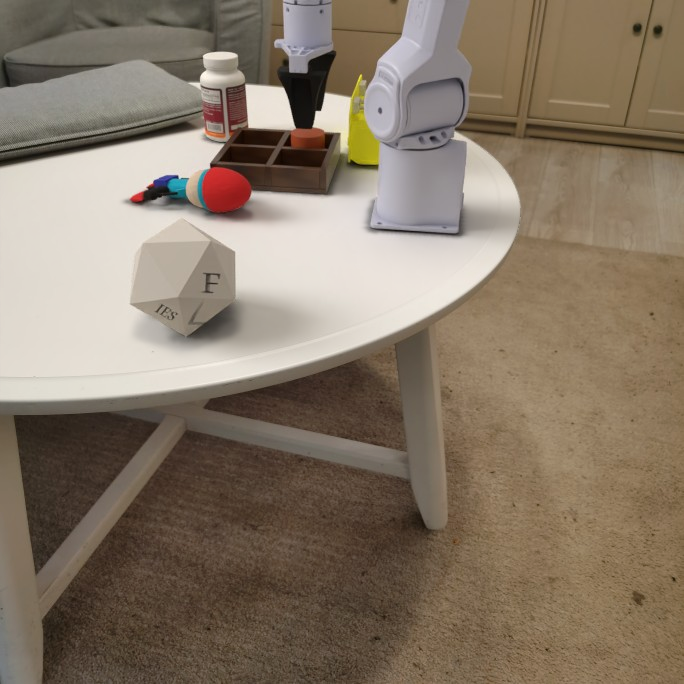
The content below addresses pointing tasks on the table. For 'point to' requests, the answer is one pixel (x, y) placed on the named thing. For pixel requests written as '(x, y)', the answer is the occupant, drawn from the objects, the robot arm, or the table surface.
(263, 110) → the table surface
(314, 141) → the orange short cylinder
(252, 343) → the table surface
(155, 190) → the toy figure
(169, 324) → the die
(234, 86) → the pill bottle
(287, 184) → the grid
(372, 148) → the yellow toy chassis
